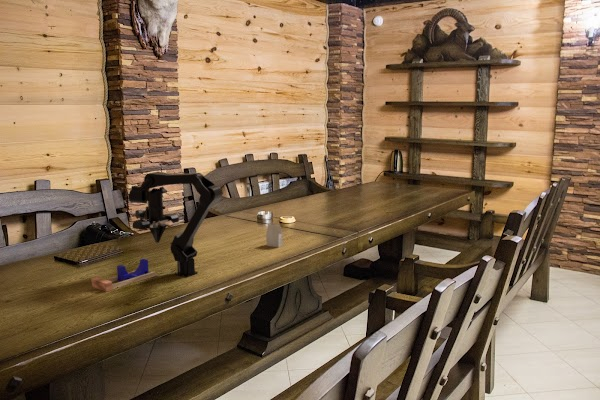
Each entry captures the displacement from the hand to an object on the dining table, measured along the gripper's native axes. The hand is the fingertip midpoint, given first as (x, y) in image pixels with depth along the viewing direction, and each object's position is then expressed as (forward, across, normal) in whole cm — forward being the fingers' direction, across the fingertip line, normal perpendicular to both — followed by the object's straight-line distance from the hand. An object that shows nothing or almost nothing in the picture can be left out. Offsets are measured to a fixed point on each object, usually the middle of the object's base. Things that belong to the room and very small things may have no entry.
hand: (157, 242), depth 218 cm
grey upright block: (+12, -58, +13) cm, 61 cm away
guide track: (+12, +16, 0) cm, 20 cm away
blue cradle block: (+12, +11, -1) cm, 16 cm away
